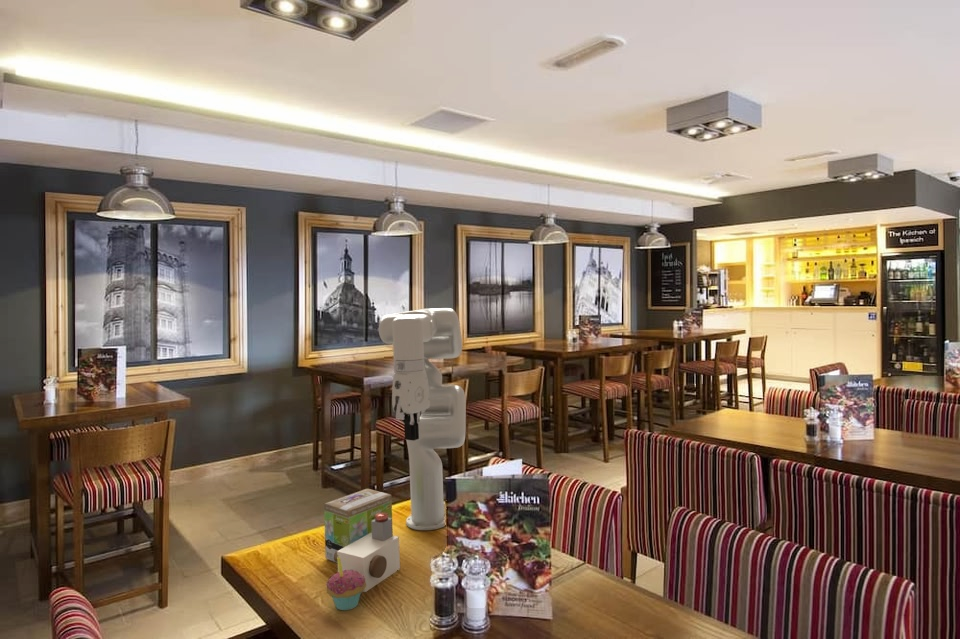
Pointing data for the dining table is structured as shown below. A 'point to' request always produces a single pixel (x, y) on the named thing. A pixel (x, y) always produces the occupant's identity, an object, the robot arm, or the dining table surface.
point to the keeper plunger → (381, 517)
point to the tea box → (352, 518)
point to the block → (372, 552)
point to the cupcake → (345, 587)
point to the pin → (374, 565)
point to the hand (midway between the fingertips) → (411, 439)
